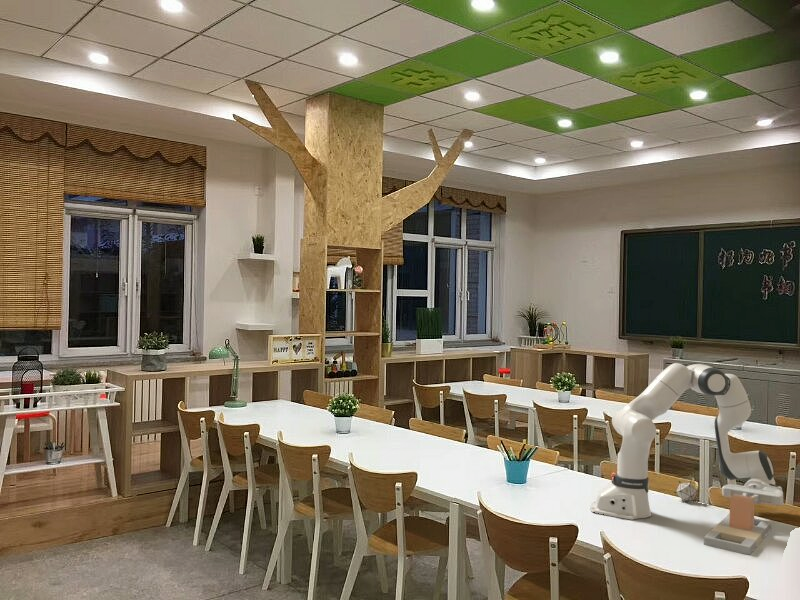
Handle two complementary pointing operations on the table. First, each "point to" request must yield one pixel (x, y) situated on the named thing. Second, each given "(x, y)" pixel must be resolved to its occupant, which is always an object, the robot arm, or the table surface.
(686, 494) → the grey faceted ball
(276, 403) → the table surface
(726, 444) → the robot arm
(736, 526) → the block
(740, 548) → the box
